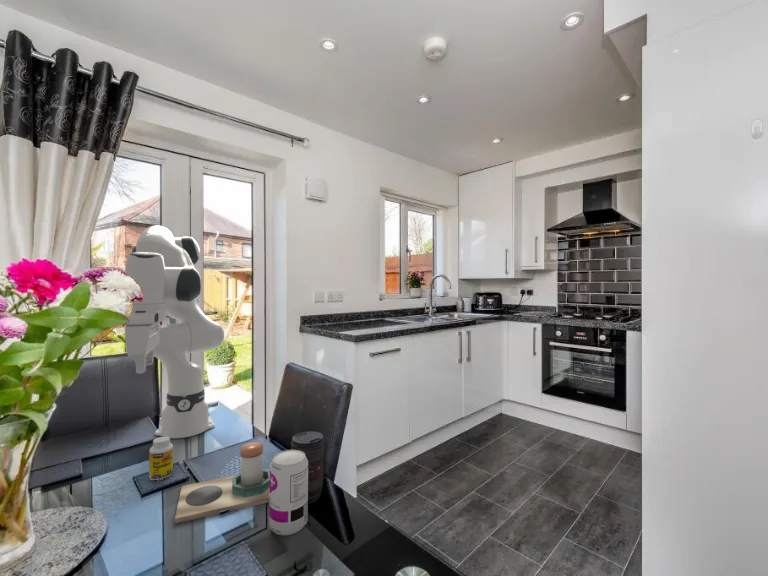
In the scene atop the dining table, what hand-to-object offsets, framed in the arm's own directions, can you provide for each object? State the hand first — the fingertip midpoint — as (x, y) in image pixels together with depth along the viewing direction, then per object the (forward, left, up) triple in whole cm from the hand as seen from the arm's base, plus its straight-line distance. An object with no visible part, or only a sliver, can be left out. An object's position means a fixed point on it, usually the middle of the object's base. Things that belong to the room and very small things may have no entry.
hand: (144, 368), depth 91 cm
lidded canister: (+11, +25, -30) cm, 41 cm away
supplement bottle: (-6, +3, -31) cm, 32 cm away
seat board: (+11, +20, -31) cm, 39 cm away
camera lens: (+19, +38, -31) cm, 53 cm away
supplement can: (+28, +32, -31) cm, 53 cm away
